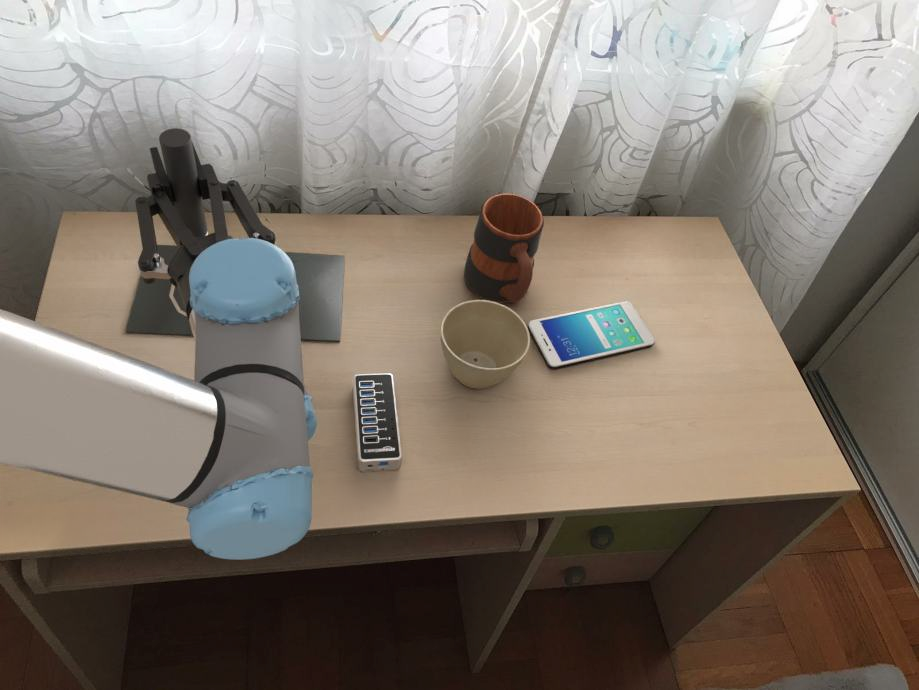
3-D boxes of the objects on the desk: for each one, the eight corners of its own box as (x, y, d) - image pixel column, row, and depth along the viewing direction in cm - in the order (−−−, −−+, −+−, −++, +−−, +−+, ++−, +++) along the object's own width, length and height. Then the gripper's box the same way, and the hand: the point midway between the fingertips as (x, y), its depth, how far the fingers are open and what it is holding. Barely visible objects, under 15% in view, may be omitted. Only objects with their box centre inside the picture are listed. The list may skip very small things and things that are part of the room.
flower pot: (503, 418, 84) (516, 382, 79) (421, 388, 85) (428, 350, 80) (527, 354, 90) (540, 316, 85) (450, 327, 91) (458, 288, 86)
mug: (481, 330, 92) (498, 264, 83) (455, 261, 99) (468, 193, 89) (545, 321, 94) (569, 256, 85) (515, 254, 101) (534, 187, 92)
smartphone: (657, 343, 93) (551, 367, 88) (655, 347, 94) (549, 371, 89) (629, 299, 97) (526, 320, 92) (627, 303, 98) (525, 325, 93)
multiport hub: (391, 384, 85) (393, 372, 83) (400, 469, 78) (402, 459, 77) (352, 385, 84) (353, 373, 82) (358, 472, 78) (358, 461, 76)
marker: (179, 248, 84) (156, 145, 73) (183, 229, 85) (162, 126, 75) (206, 249, 84) (188, 147, 73) (210, 231, 86) (193, 129, 75)
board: (125, 333, 84) (124, 331, 84) (150, 245, 93) (149, 243, 93) (339, 342, 88) (339, 340, 87) (344, 256, 96) (344, 255, 96)
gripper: (147, 356, 70) (103, 194, 82) (313, 314, 75) (249, 169, 87) (130, 303, 64) (85, 138, 76) (311, 262, 69) (243, 114, 82)
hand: (173, 155), depth 82 cm, fingers closed on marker, 3 cm apart
